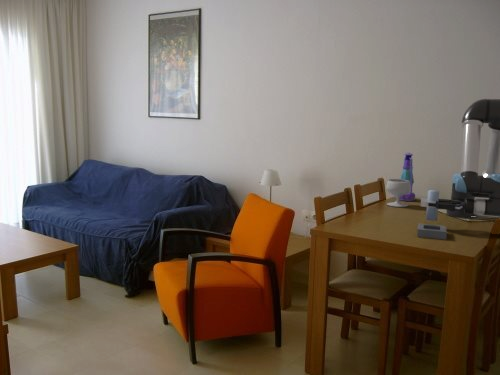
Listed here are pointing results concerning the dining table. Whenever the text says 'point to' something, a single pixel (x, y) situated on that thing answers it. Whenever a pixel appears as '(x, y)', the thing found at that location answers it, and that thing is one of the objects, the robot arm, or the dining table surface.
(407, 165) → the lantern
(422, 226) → the socket block
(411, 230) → the dining table surface
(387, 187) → the chalice
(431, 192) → the peg
